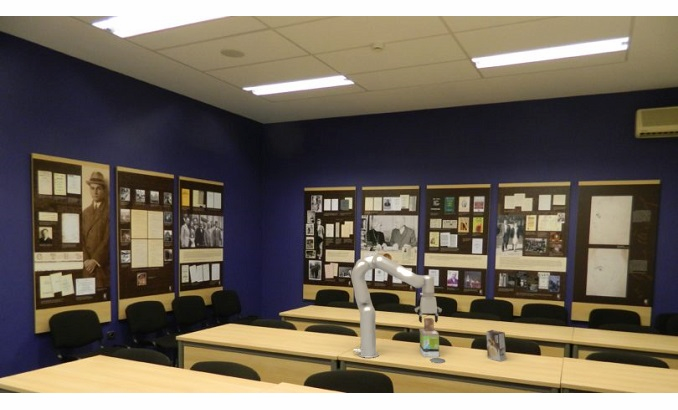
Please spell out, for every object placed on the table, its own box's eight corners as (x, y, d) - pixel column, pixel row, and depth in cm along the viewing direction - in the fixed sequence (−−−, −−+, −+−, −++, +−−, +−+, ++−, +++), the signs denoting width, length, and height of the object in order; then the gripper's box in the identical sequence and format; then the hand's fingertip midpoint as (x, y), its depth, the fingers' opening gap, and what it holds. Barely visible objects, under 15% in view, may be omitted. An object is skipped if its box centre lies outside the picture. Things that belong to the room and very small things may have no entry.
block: (426, 331, 274) (425, 320, 274) (424, 329, 279) (424, 318, 279) (434, 331, 274) (433, 319, 275) (432, 329, 279) (431, 318, 280)
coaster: (431, 363, 256) (431, 362, 256) (428, 358, 265) (428, 358, 265) (447, 363, 257) (447, 362, 257) (443, 358, 266) (443, 357, 266)
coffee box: (506, 359, 261) (505, 332, 262) (500, 361, 257) (499, 334, 258) (493, 356, 268) (492, 329, 269) (486, 358, 264) (485, 331, 265)
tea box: (439, 357, 268) (439, 333, 269) (423, 357, 268) (422, 333, 269) (435, 350, 283) (434, 327, 284) (419, 350, 283) (418, 327, 284)
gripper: (415, 295, 274) (415, 323, 273) (443, 295, 274) (443, 323, 273) (413, 294, 281) (413, 321, 280) (440, 294, 282) (440, 320, 281)
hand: (428, 322), depth 277 cm, fingers open, 9 cm apart
